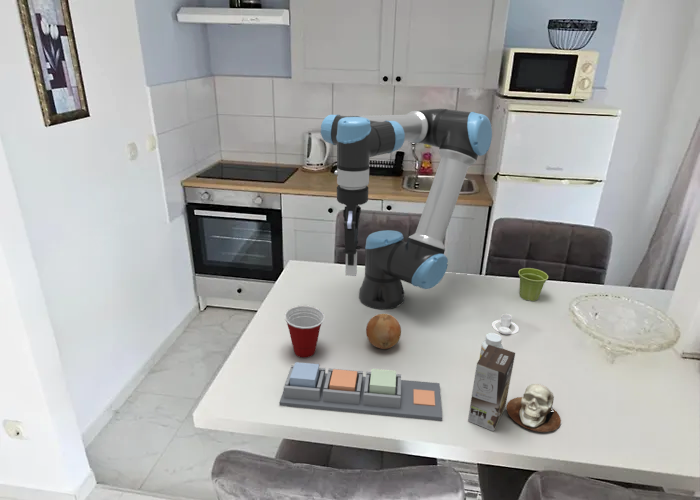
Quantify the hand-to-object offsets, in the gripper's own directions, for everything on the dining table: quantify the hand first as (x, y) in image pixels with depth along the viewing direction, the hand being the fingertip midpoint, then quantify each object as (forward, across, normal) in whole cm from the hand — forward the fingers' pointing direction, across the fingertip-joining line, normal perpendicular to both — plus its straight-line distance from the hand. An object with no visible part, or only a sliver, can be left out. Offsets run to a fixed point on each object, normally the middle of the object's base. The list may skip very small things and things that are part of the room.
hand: (351, 274), depth 124 cm
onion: (+25, -5, +9) cm, 27 cm away
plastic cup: (+25, +1, -12) cm, 27 cm away
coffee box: (+25, +19, +34) cm, 47 cm away
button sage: (+21, +17, +10) cm, 29 cm away
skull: (+25, +18, +45) cm, 55 cm away
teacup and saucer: (+25, -19, +42) cm, 53 cm away
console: (+24, +17, +5) cm, 30 cm away
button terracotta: (+23, +17, 0) cm, 28 cm away
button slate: (+21, +17, -9) cm, 29 cm away
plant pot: (+25, -40, +57) cm, 73 cm away
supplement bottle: (+25, +1, +38) cm, 45 cm away
